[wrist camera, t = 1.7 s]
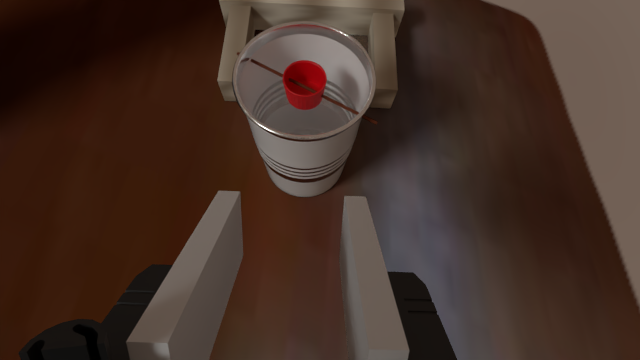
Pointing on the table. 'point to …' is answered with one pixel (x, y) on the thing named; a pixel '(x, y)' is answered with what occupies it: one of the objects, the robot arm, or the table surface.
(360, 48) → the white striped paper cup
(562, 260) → the table surface
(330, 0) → the cream wooden u-shaped piece
